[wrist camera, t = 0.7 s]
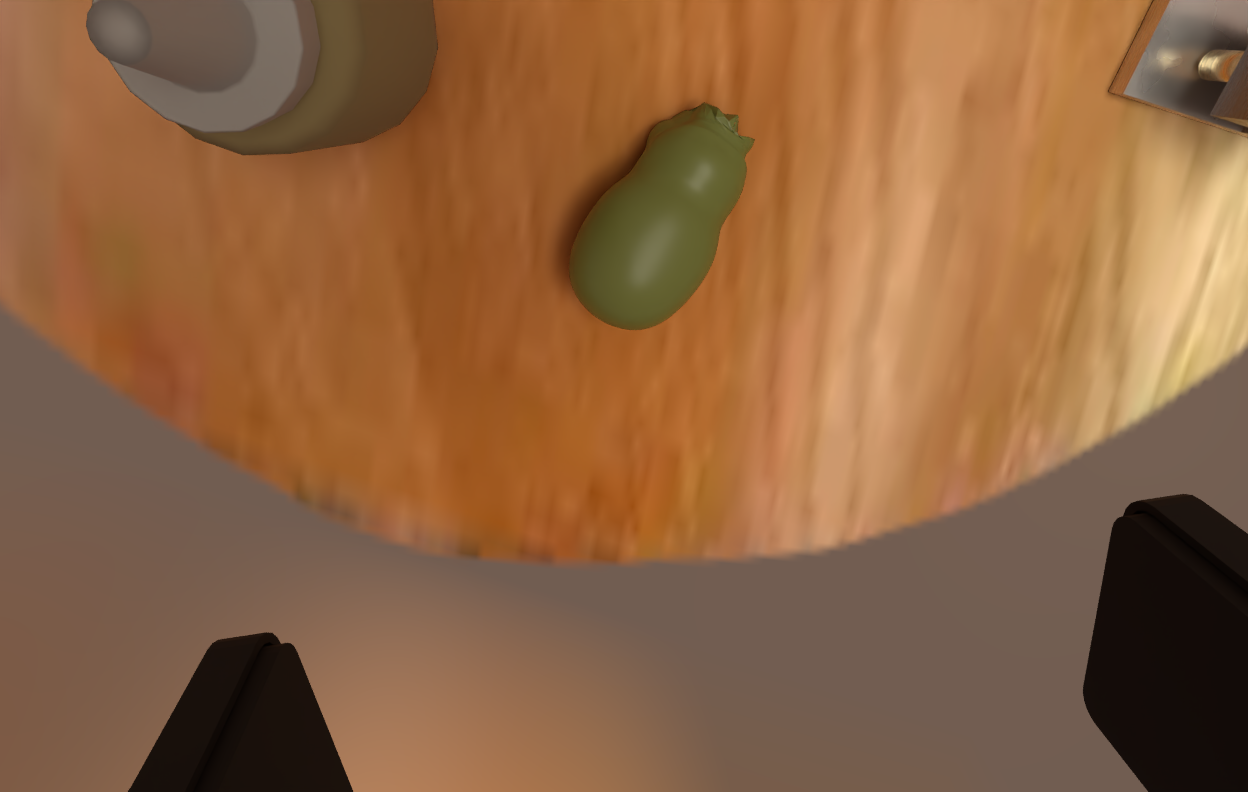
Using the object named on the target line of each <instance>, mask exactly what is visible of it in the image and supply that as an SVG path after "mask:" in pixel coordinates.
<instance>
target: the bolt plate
mask: <svg viewBox="0 0 1248 792" xmlns="http://www.w3.org/2000/svg"><path fill="white" fill-rule="evenodd" d="M1247 46H1248V0H1154V1H1153V3H1152V5H1151V7H1150V9H1149V11H1148V13H1147V15H1146V17H1145V19H1144V21H1143V23H1142V25H1141V27H1140V29H1139V31H1138V33H1137V35H1136V37H1135V39H1134V41H1133V43H1132V45H1131V47H1130V49H1129V51H1128V53H1127V55H1126V57H1125V59H1124V61H1123V63H1122V65H1121V67H1120V69H1119V71H1118V73H1117V75H1116V77H1115V79H1114V81H1113V84H1112V86H1111V88H1110V90H1109V92H1110V93H1113V94H1116V95H1119V96H1122V97H1126V98H1129V99H1132V100H1135V101H1138V102H1141V103H1144V104H1147V105H1150V106H1153V107H1156V108H1159V109H1162V110H1165V111H1168V112H1172V113H1175V114H1178V115H1181V116H1184V117H1187V118H1190V119H1193V120H1196V121H1199V122H1202V123H1205V124H1208V125H1211V126H1215V127H1218V128H1221V129H1224V130H1227V131H1230V132H1233V133H1236V134H1239V135H1242V136H1245V137H1248V127H1245V126H1242V125H1239V124H1236V123H1233V122H1230V121H1227V120H1224V119H1221V118H1218V117H1215V116H1212V115H1210V113H1211V111H1212V110H1213V108H1214V106H1215V104H1216V102H1217V101H1218V99H1219V97H1220V95H1221V93H1222V91H1223V90H1224V88H1225V86H1226V84H1227V82H1219V81H1208V80H1203V79H1202V78H1201V77H1200V76H1199V73H1198V67H1199V63H1200V61H1201V59H1202V58H1203V57H1204V56H1205V55H1206V54H1207V53H1208V52H1210V51H1212V50H1237V51H1245V50H1246V48H1247Z"/></svg>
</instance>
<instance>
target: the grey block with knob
mask: <svg viewBox="0 0 1248 792" xmlns="http://www.w3.org/2000/svg"><path fill="white" fill-rule="evenodd" d="M1198 73H1199V76H1200V77H1201V78H1202V79H1203V80H1208V81H1219V82H1227V84H1226V86H1225V88H1224V90H1223V91H1222V93H1221V95H1220V97H1219V99H1218V101H1217V102H1216V104H1215V106H1214V108H1213V110H1212V111H1211V113H1210V115H1212V116H1215V117H1218V118H1221V119H1224V120H1227V121H1230V122H1233V123H1236V124H1239V125H1242V126H1245V127H1248V46H1247V48H1246V50H1245V51H1237V50H1212V51H1210V52H1208V53H1207V54H1206V55H1205V56H1204V57H1203V58H1202V59H1201V61H1200V63H1199V67H1198Z"/></svg>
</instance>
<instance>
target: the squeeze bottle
mask: <svg viewBox="0 0 1248 792" xmlns="http://www.w3.org/2000/svg"><path fill="white" fill-rule="evenodd" d="M86 27H87V30H88V34H89V37H90V40H91V41H92V43H93V44H94V46H95V47H96V48H97V50H98V51H99V52H100V53H101V54H103V55H104V56H105V57H106V58H108V60H109V61H110V63H111V64H112V66H113V67H114V69H115V70H116V71H117V73H118V74H119V76H120V77H121V79H122V80H123V82H124V83H125V85H126V86H127V88H128V89H129V90H130V92H132V93H133V94H134V95H135V96H137V97H138V98H139V99H140V100H142V101H143V102H144V103H146V104H147V105H148V106H149V107H151V108H152V109H153V110H155V111H156V112H157V113H158V114H160V115H161V116H162V117H163V118H165V119H167V120H169V121H172V122H175V123H177V124H178V125H179V126H180V127H182V128H183V129H184V130H185V131H187V132H188V133H189V134H191V135H192V136H193V137H194V138H196V139H199V140H202V141H204V142H207V143H210V144H213V145H216V146H219V147H221V148H224V149H227V150H230V151H233V152H236V153H238V154H241V155H264V154H291V153H297V152H304V151H310V150H316V149H323V148H329V147H336V146H342V145H348V144H355V143H361V142H364V141H367V140H369V139H371V138H373V137H375V136H377V135H379V134H381V133H383V132H385V131H387V130H389V129H391V128H393V127H395V126H397V125H399V124H401V122H402V121H403V120H404V119H405V117H406V116H407V115H408V114H409V112H410V111H411V110H412V109H413V107H414V106H415V105H416V104H417V102H418V101H419V100H420V99H421V97H422V96H423V95H424V94H425V93H426V91H427V87H428V83H429V80H430V76H431V72H432V69H433V65H434V61H435V57H436V54H437V50H438V43H437V34H436V25H435V17H434V8H433V0H93V2H92V7H91V8H90V10H89V12H88V13H87V23H86Z"/></svg>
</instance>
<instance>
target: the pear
mask: <svg viewBox="0 0 1248 792" xmlns="http://www.w3.org/2000/svg"><path fill="white" fill-rule="evenodd" d="M738 118H739V116H738V115H728V114H726V115H725V113H724V114H723V113H722V112H721V111H720V110H719V109H718V108H717V107H714V106H712V105H709V104H707V103H702V104H701V105H700V106H698V107H696V108H694V109H692V110H690V111H687V110H685V111H683V112H682V113H680V114H678V115H676V116H674V117H673V118H672V119H670V120H664V121H662V122H660V123H658V124H657V125H656V126H655V127H654V128H653V129H652V131H651V132H650V134H649V136H648V139H647V143H646V149H645V151H644V152H643V154H642V155H641V157H640V158H639V160H638V161H637V163H636V164H635V166H634V167H633V169H632V170H631V171H630V172H629V173H628V174H627V175H626V176H625V177H624V178H622V179H621V180H619V181H618V182H617V183H615V184H614V185H613V186H612V187H610V188H609V189H608V190H607V191H606V192H605V193H604V194H603V195H602V197H601V198H600V199H599V200H598V201H597V203H596V204H595V205H594V207H593V208H592V210H591V211H590V213H589V214H588V216H587V217H586V219H585V221H584V222H583V224H582V226H581V228H580V230H579V232H578V234H577V236H576V239H575V241H574V244H573V247H572V250H571V254H570V260H569V277H570V282H571V285H572V288H573V290H574V292H575V294H576V296H577V298H578V299H579V301H580V302H581V303H582V304H583V306H584V307H585V308H586V309H587V310H588V311H589V312H590V313H592V314H593V315H594V316H595V317H597V318H598V319H600V320H602V321H603V322H605V323H607V324H609V325H612V326H615V327H618V328H622V329H628V330H641V329H647V328H650V327H653V326H656V325H658V324H660V323H662V322H663V321H665V320H666V319H668V318H669V317H670V316H672V315H673V314H674V313H675V312H676V311H678V310H679V309H680V308H681V307H682V306H683V305H684V304H685V303H686V301H687V300H688V299H689V298H690V297H691V296H692V295H693V293H694V292H695V291H696V290H697V288H698V287H699V285H700V284H701V283H702V281H703V280H704V278H705V276H706V275H707V273H708V271H709V269H710V267H711V265H712V263H713V260H714V257H715V254H716V250H717V246H718V240H719V234H720V230H721V227H722V225H723V223H724V221H725V220H726V218H727V217H728V215H729V214H730V212H731V211H732V209H733V208H734V206H735V204H736V203H737V201H738V199H739V197H740V195H741V192H742V190H743V187H744V183H745V178H746V172H747V167H746V163H745V160H744V159H745V156H746V154H747V153H748V152H749V150H750V149H751V148H752V146H753V143H754V141H755V139H752V138H750V137H745V136H739V135H738ZM736 119H737V121H736ZM735 122H736V123H735ZM734 123H735V125H734ZM733 127H734V128H733ZM731 128H732V129H733V130H732V129H731Z"/></svg>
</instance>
